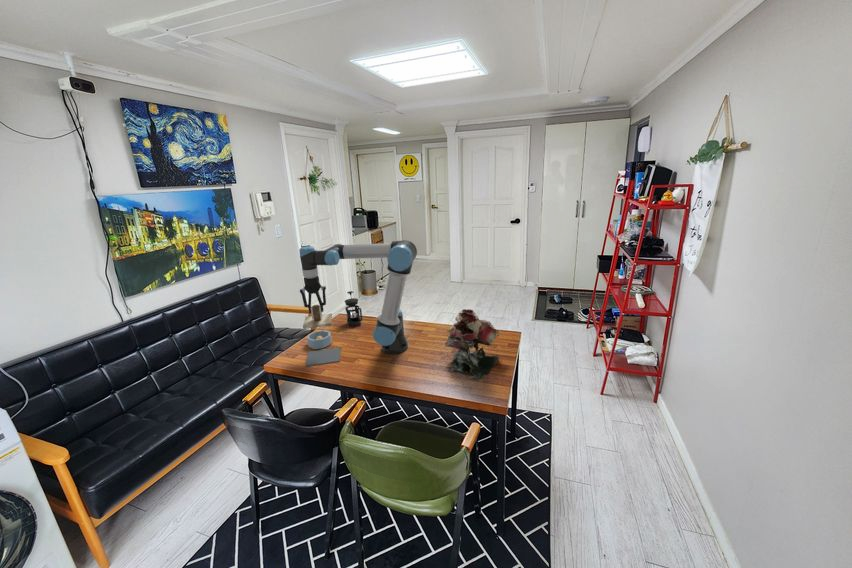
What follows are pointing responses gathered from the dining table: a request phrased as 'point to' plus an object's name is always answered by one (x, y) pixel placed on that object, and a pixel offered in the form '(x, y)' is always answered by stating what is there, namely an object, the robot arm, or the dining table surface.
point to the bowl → (319, 339)
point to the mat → (323, 357)
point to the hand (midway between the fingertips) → (317, 317)
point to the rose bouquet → (471, 344)
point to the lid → (317, 319)
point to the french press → (355, 317)
